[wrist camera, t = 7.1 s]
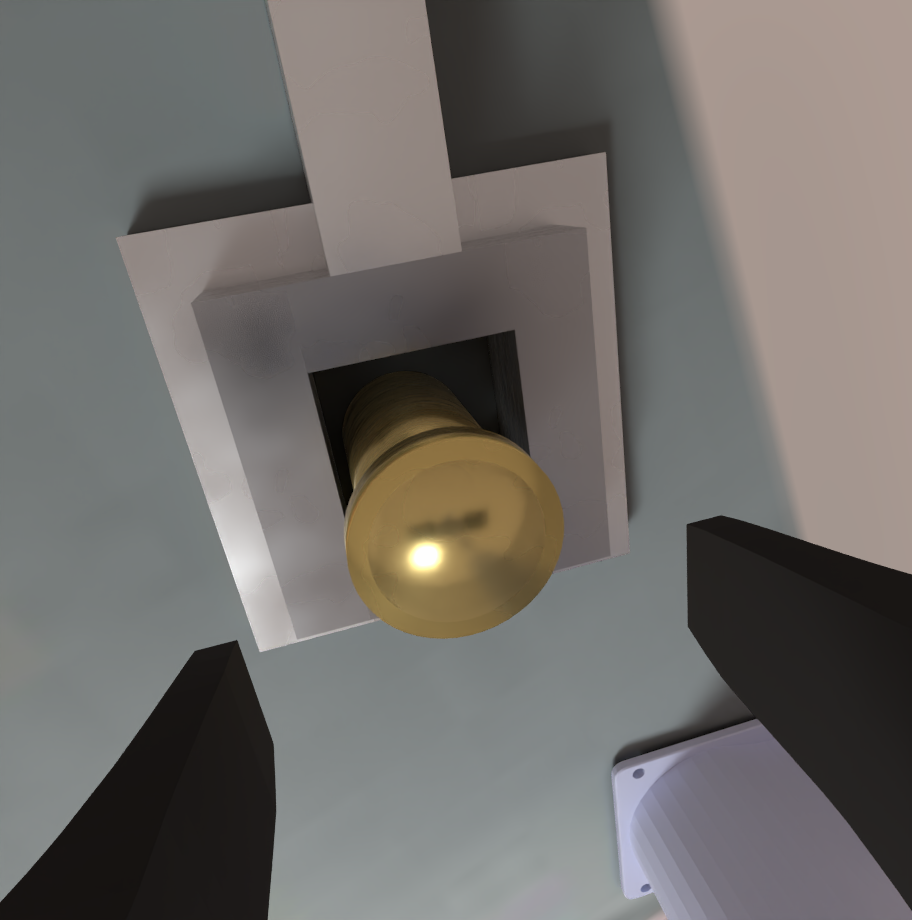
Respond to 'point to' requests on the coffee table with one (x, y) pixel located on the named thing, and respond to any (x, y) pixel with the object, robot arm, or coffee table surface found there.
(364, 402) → the pin
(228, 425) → the white stepped square fixture
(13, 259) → the coffee table surface
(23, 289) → the coffee table surface
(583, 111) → the coffee table surface
